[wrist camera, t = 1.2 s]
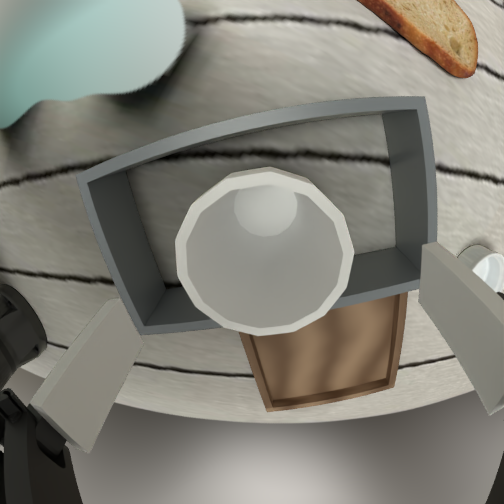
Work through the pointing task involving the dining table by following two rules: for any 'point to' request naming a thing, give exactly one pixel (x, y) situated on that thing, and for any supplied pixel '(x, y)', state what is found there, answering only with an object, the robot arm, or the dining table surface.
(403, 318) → the walnut tray
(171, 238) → the dining table surface
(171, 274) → the dining table surface
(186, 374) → the dining table surface
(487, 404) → the robot arm
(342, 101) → the deep open rectangular frame
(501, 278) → the ramekin
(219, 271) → the foam cup
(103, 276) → the dining table surface
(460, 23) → the bread slice
